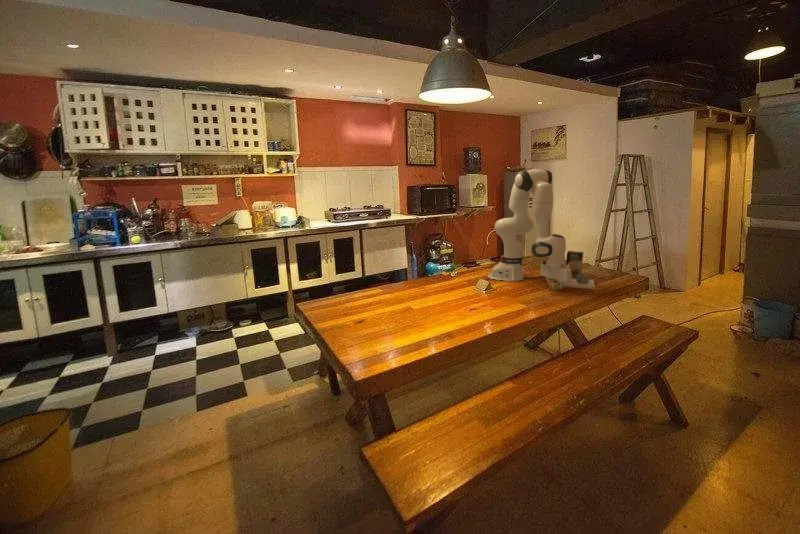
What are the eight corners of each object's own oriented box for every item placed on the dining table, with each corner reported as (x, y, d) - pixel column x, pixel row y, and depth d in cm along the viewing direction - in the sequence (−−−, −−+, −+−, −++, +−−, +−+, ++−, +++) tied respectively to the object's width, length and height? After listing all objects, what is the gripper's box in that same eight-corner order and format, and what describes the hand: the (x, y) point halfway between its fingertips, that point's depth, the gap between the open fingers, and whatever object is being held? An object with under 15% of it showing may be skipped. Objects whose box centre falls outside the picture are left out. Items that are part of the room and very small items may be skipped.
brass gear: (551, 291, 224) (552, 283, 223) (547, 287, 230) (547, 280, 229) (563, 290, 224) (563, 283, 223) (558, 287, 230) (558, 280, 229)
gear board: (557, 286, 233) (557, 274, 231) (557, 280, 244) (558, 269, 243) (594, 288, 225) (595, 277, 223) (593, 282, 237) (594, 271, 235)
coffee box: (564, 277, 251) (566, 252, 247) (566, 275, 256) (568, 250, 252) (580, 278, 246) (582, 253, 242) (581, 276, 251) (583, 251, 248)
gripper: (575, 265, 215) (573, 290, 219) (547, 259, 234) (546, 281, 237) (566, 267, 213) (565, 291, 216) (539, 260, 231) (538, 283, 234)
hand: (555, 286), depth 227 cm, fingers closed on brass gear, 6 cm apart
